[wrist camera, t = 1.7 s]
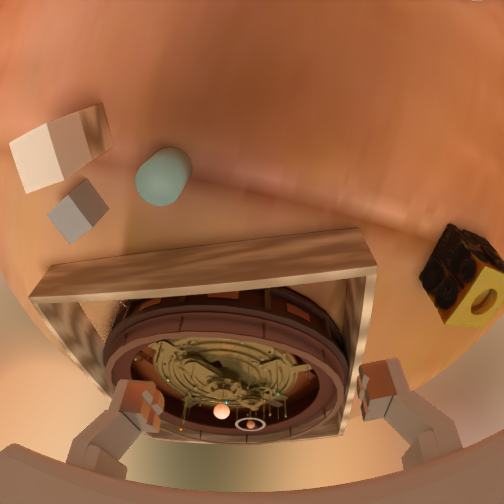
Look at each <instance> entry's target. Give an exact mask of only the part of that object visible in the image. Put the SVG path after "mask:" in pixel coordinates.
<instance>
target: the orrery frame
mask: <svg viewBox="0 0 504 504" xmlns="http://www.w3.org/2000/svg"><path fill="white" fill-rule="evenodd" d="M377 268H378V265H377V263H376V261H375V259H374V257H373V255H372V253H371V251H370V249H369V247H368V245H367V243H366V241H365V239H364V238H363V236H362V234H361V232H360V230H359V228H351V229H342V230H333V231H324V232H315V233H306V234H297V235H288V236H279V237H271V238H262V239H254V240H245V241H237V242H228V243H220V244H212V245H204V246H196V247H188V248H180V249H172V250H164V251H156V252H148V253H140V254H133V255H125V256H117V257H110V258H102V259H95V260H87V261H80V262H73V263H65V264H58V265H52V266H51V267H50V269H49V270H48V271H47V273H46V274H45V275H44V276H43V278H42V279H41V280H40V282H39V283H38V284H37V286H36V287H35V289H34V290H33V291H32V293H31V294H30V295H29V297H28V298H29V300H30V301H31V303H32V304H33V306H34V307H35V309H36V310H37V312H38V313H39V315H40V316H41V318H42V319H43V321H44V322H45V324H46V325H47V326H48V328H49V329H50V331H51V332H52V333H53V335H54V336H55V337H56V339H57V340H58V341H59V343H60V344H61V345H62V347H63V348H64V349H65V350H66V352H67V353H68V354H69V355H70V357H71V358H72V359H73V360H74V362H75V363H76V364H77V365H78V366H79V368H80V369H81V370H82V371H83V372H84V373H85V375H86V376H87V377H88V378H89V379H90V380H91V381H92V383H93V384H94V385H95V386H96V387H97V388H98V389H99V390H100V391H101V392H102V393H103V395H105V397H106V398H107V399H108V400H109V401H110V402H111V401H112V398H113V394H112V392H111V391H110V389H109V386H108V384H107V381H106V373H105V366H104V364H103V349H104V346H105V343H104V342H103V340H102V339H101V338H100V336H99V335H98V333H97V332H96V330H95V329H94V327H93V326H92V324H91V322H90V321H89V319H88V318H87V316H86V315H85V313H84V311H83V310H82V308H81V306H80V305H79V303H78V302H89V301H109V300H126V299H142V298H157V297H170V296H183V295H196V294H207V293H219V292H230V291H240V290H250V289H260V288H270V287H279V286H288V285H297V284H306V283H315V282H323V281H331V280H339V279H347V278H348V279H347V295H346V309H345V321H344V332H343V343H344V354H345V357H346V360H347V363H348V365H349V375H348V381H347V386H346V391H345V394H344V398H343V401H342V403H341V406H340V408H339V410H338V411H337V412H336V413H335V414H334V415H333V416H332V418H331V419H329V420H328V421H327V422H325V423H324V424H322V425H321V426H320V427H318V428H316V429H314V430H312V431H310V432H308V433H306V434H303V435H300V436H297V437H294V438H291V439H287V440H283V441H279V442H274V443H280V442H293V441H304V440H312V439H321V438H328V437H335V436H342V435H343V434H344V430H345V427H346V423H347V420H348V417H349V413H350V409H351V406H352V402H353V398H354V394H355V390H356V386H357V376H358V375H359V371H358V369H359V366H360V365H361V364H362V360H363V355H364V350H365V345H366V340H367V335H368V329H369V323H370V318H371V312H372V305H373V299H374V292H375V284H376V277H377ZM113 385H114V384H113ZM114 388H115V389H116V387H115V385H114ZM333 408H334V407H333ZM333 408H331V409H330V410H329V411H328V412H326V417H327V415H328V414H329V413H330V412H331V411H332V410H333ZM324 418H325V417H324V415H322V416H320V417H318V418H317V419H315V420H313V421H311V422H309V423H306V424H304V425H301V426H298V427H296V428H293V429H291V436H292V435H295V434H298V433H300V432H303V431H305V430H307V429H309V428H311V427H313V426H315V425H316V424H318V423H319V422H320V421H322V420H323V419H324ZM160 427H162V428H164V429H167V430H169V431H172V432H175V433H178V434H181V435H184V436H188V437H192V438H196V439H200V432H199V431H194V430H190V429H186V428H183V427H182V428H183V430H182V431H180V430H179V428H180V426H177V425H174V424H171V423H168V422H166V421H164V420H161V424H160ZM142 433H144V434H145V435H146V436H147V437H148V438H149V439H154V440H164V441H174V442H187V443H206V442H201V441H196V440H191V439H187V438H184V437H180V436H177V435H174V434H171V433H168V432H166V431H163V430H161V429H159V433H152V432H142ZM289 436H290V432H289V430H285V431H281V432H276V433H270V434H263V435H250V436H248V439H247V443H257V442H265V441H272V440H277V439H281V438H285V437H289ZM201 440H206V441H214V442H222V443H246V436H230V435H218V434H210V433H204V432H202V435H201ZM206 444H213V443H206Z"/></svg>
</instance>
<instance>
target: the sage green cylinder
mask: <svg viewBox="0 0 504 504" xmlns="http://www.w3.org/2000/svg"><path fill="white" fill-rule="evenodd" d="M191 173H192V164H191V161H190V159H189V157H188V156H187V154H186V153H185V152H183V151H182V150H180V149H178V148H175V147H166V148H163V149H160V150H159V151H158V152H156V153H155V154H154V155H153V156H152V157H151V158H150V159H148V160H147V161H146V162H145V163H144V164H143V165H142V166H141V167H140V168H139V170H138V171H137V173H136V177H135V185H136V189H137V191H138V193H139V195H140V196H141V197H142V198H143V199H144V200H145V201H146V202H148V203H150V204H152V205H155V206H166V205H169V204H171V203H173V202H174V201H175V200H176V199H177V198H178V197H179V195H180V193H181V192H182V190H183V188H184V187H185V185H186V183H187V182H188V180H189V178H190V176H191Z"/></svg>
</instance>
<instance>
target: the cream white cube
mask: <svg viewBox="0 0 504 504" xmlns="http://www.w3.org/2000/svg"><path fill="white" fill-rule="evenodd" d="M9 145H10V148H11V151H12V154H13V158H14V161H15V164H16V167H17V170H18V173H19V175H20V178H21V181H22V184H23V186H24V189H25V192H26V194H27V193H30V192H32V191H35V190H38V189H41V188H43V187H46V186H49V185H52V184H55V183H58V182H61V181H64V180H65V179H67V178H68V177H69V176H71V175H72V174H73V173H75V172H76V171H78V170H79V169H80V168H82V167H83V166H85V165H86V164H88V163H89V162H90V161H92V157H91V154H90V151H89V147H88V144H87V141H86V137H85V134H84V130H83V126H82V123H81V119H80V115H79V111H77V112H74V113H71V114H68V115H66V116H63V117H60V118H58V119H55V120H52V121H50V122H47V123H45V124H43V125H41V126H39V127H37V128H35V129H33V130H31V131H30V132H28V133H26V134H24V135H22V136H20V137H19V138H17V139H15V140H13V141H11V142H10V143H9Z"/></svg>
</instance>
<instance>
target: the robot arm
mask: <svg viewBox="0 0 504 504" xmlns="http://www.w3.org/2000/svg"><path fill="white" fill-rule="evenodd" d="M472 1H483V0H472ZM358 371H359V375H358V376H357V393H358V398H359V399H360V400H361V401H362V404H361V412H362V416H363V421H369V420H375V419H380V418H384V419H385V420H386V421H387V422H388V423H389V424H390V425H391V426H392V427H393V428H394V429H395V430H396V431H397V432H398V433H399V434H400V435H401V436H402V437H403V438H404V439H405V440H406V441H407V442H408V443H409V444H410V445H411V446H410V447H409V449H408V450H407V451H406V452H405V454H404V455H403V456H402V463H403V468H404V470H402V471H399V472H395V473H391V474H387V475H384V476H379V477H375V478H371V479H366V480H362V481H357V482H351V483H346V484H340V485H334V486H328V487H320V488H313V489H304V490H293V491H278V492H252V493H251V492H249V493H248V492H241V493H240V492H213V491H198V490H187V489H178V488H170V487H162V486H156V485H149V484H144V483H139V482H133V481H128V480H125V478H126V473H127V467H126V466H124V465H123V464H122V463H120V462H119V461H118V460H119V459H120V458H121V457H122V456H123V454H124V453H125V452H126V451H127V449H128V448H129V447H130V446H131V445H132V444H133V442H134V441H135V440H136V439H137V438H138V436H139V435H140V434H141V432H152V433H159V429H160V424H161V418H160V416H159V415H160V414H161V413H162V412H163V410H164V397H163V394H162V393H161V391H159V390H157V389H156V384H155V383H154V382H153V381H140V380H124V379H120V380H119V382H118V383H117V386H116V389H115V392H114V395H113V398H112V401H111V404H110V406H109V410H105V411H104V412H103V413H102V414H101V415H100V416H98V417H97V418H96V419H95V420H94V421H93V422H92V423H91V424H90V425H89V426H87V427H86V428H85V429H84V430H83V431H82V432H81V433H80V434H79V435H78V436H77V437H75V438H74V439H73V441H72V444H71V448H70V451H69V454H68V457H67V460H66V463H64V462H61V461H58V460H55V459H53V458H50V457H47V456H45V455H42V454H40V453H37V452H34V451H32V450H30V449H28V448H25V447H23V446H21V445H19V444H11V445H9V446H7V447H6V448H5V449H3V450H2V451H1V452H0V504H504V429H503V430H501V431H499V432H497V433H496V434H494V435H492V436H490V437H488V438H486V439H483V440H482V441H479V442H477V443H475V444H473V445H471V446H468V447H466V448H464V449H463V448H462V444H461V441H460V438H459V435H458V432H457V429H456V426H455V423H454V421H453V420H452V419H450V418H449V417H448V416H446V415H445V414H444V413H442V412H441V411H440V410H438V409H437V408H436V407H435V406H433V405H432V404H430V403H429V402H428V401H426V400H425V399H424V398H423V397H421V396H420V395H419V394H417V393H416V392H415V391H410V389H409V386H408V383H407V381H406V378H405V375H404V372H403V369H402V367H401V364H400V361H399V359H398V358H396V357H395V358H391V359H387V360H381V361H376V362H372V363H367V364H362V365H360V366H359V369H358Z"/></svg>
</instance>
